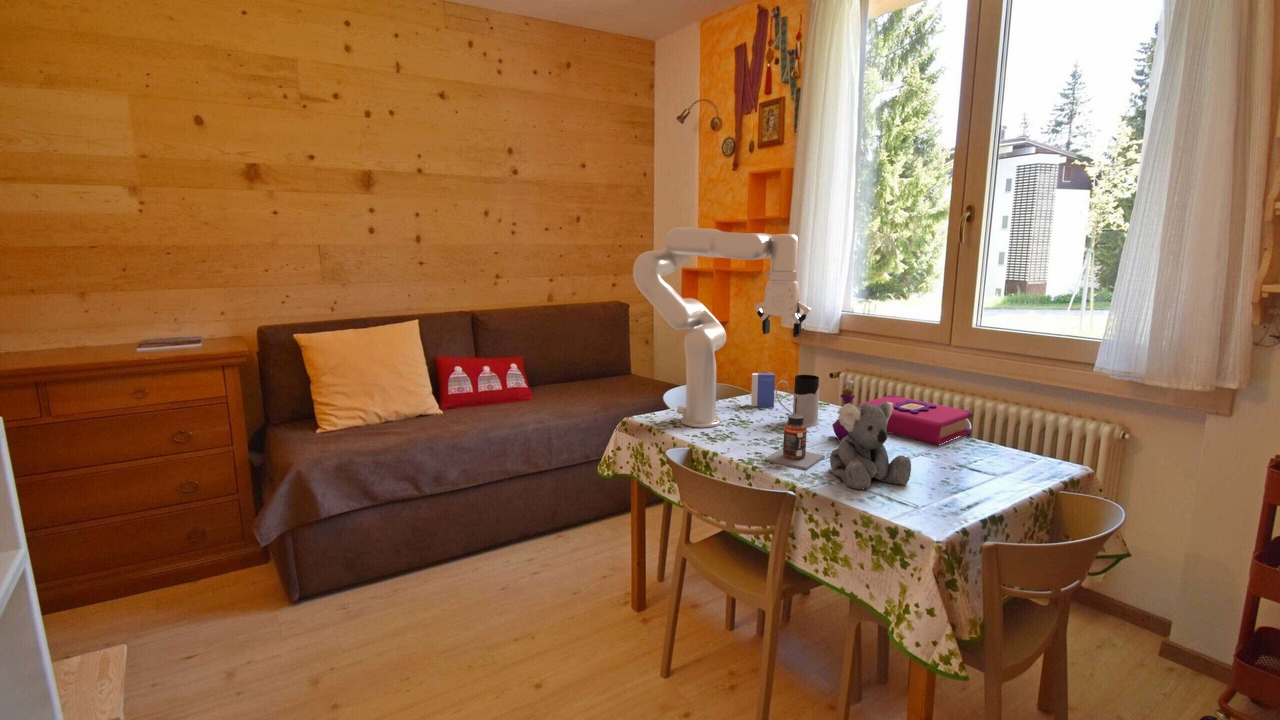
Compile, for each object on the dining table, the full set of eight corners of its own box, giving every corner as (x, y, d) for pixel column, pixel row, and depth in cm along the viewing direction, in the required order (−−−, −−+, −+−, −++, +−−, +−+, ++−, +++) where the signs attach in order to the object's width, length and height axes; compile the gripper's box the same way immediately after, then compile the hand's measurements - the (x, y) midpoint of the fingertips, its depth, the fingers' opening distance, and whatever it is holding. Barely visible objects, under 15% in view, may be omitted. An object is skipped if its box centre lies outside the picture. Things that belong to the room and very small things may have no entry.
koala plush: (853, 493, 157) (858, 413, 153) (813, 468, 173) (816, 395, 170) (915, 485, 161) (921, 407, 158) (870, 461, 178) (875, 390, 175)
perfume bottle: (831, 434, 201) (834, 376, 198) (857, 436, 200) (861, 377, 196) (833, 442, 194) (836, 382, 191) (860, 444, 192) (864, 383, 189)
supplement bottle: (805, 461, 177) (807, 419, 175) (782, 459, 178) (784, 418, 176) (805, 453, 182) (806, 413, 180) (782, 452, 184) (784, 412, 182)
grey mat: (764, 460, 179) (764, 458, 179) (783, 449, 188) (783, 447, 188) (807, 469, 172) (807, 467, 172) (824, 457, 181) (824, 455, 181)
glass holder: (822, 426, 210) (824, 380, 207) (776, 426, 210) (778, 380, 207) (815, 418, 218) (817, 374, 216) (772, 418, 219) (773, 374, 216)
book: (937, 447, 190) (939, 422, 189) (852, 426, 212) (854, 402, 210) (973, 434, 203) (975, 409, 201) (889, 414, 225) (891, 392, 223)
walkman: (773, 405, 235) (774, 372, 233) (773, 407, 233) (775, 374, 230) (750, 405, 236) (751, 372, 234) (751, 407, 233) (752, 373, 231)
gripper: (750, 276, 196) (749, 334, 200) (806, 278, 186) (803, 339, 189) (762, 275, 202) (760, 331, 206) (816, 277, 192) (813, 335, 195)
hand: (781, 334), depth 198 cm, fingers open, 9 cm apart
